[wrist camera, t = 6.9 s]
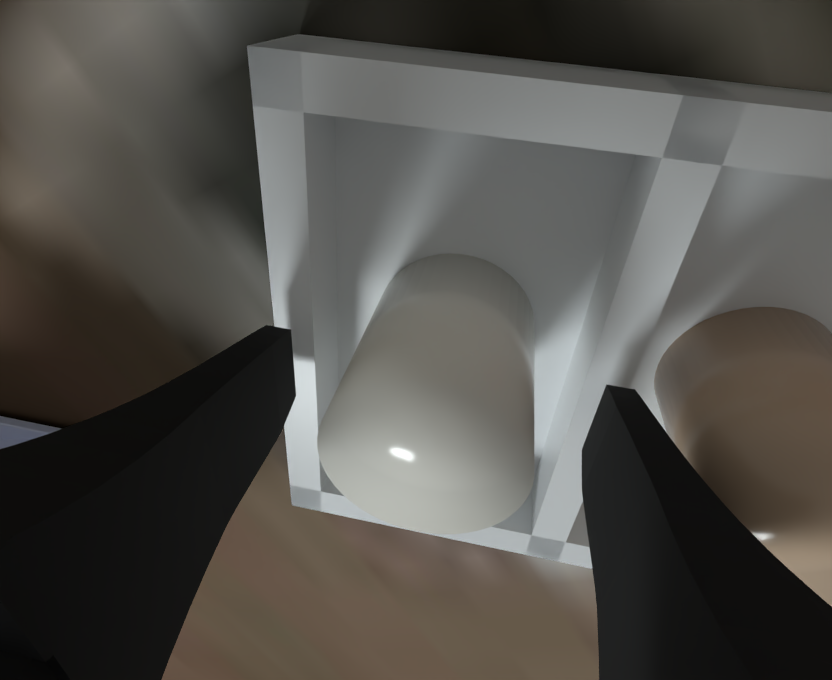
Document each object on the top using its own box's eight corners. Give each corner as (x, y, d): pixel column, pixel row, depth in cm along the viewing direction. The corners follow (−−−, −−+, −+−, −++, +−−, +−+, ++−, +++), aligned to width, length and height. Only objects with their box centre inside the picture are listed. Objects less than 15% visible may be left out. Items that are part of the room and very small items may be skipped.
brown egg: (632, 421, 15) (670, 588, 11) (689, 293, 12) (765, 447, 8) (789, 449, 14) (890, 634, 10) (880, 322, 12) (1059, 500, 8)
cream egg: (379, 374, 15) (324, 513, 11) (378, 244, 13) (308, 363, 9) (521, 395, 15) (516, 549, 11) (548, 264, 12) (553, 400, 8)
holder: (318, 448, 19) (291, 505, 17) (298, 34, 11) (246, 45, 9) (784, 541, 17) (819, 616, 15) (1130, 126, 10) (1290, 164, 8)
